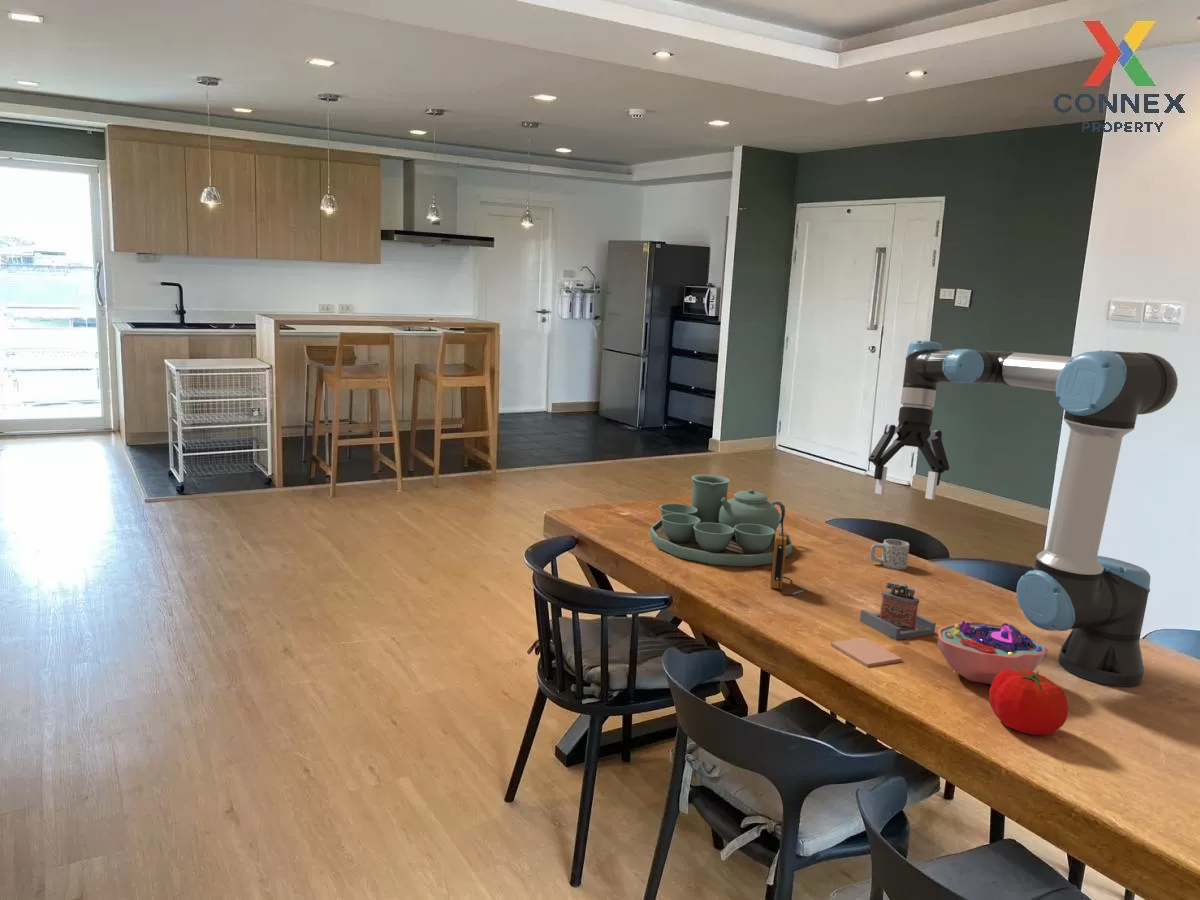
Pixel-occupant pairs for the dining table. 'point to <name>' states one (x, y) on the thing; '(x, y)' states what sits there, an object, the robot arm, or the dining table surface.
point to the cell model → (988, 650)
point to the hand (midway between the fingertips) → (904, 496)
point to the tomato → (1028, 702)
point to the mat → (866, 652)
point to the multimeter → (780, 560)
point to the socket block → (893, 631)
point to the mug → (892, 554)
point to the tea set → (720, 526)
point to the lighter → (899, 606)
